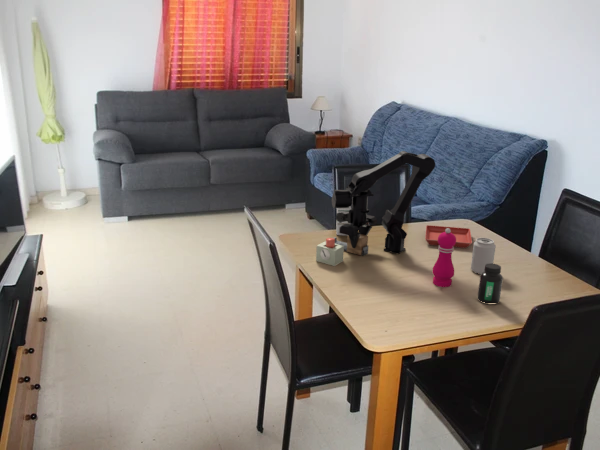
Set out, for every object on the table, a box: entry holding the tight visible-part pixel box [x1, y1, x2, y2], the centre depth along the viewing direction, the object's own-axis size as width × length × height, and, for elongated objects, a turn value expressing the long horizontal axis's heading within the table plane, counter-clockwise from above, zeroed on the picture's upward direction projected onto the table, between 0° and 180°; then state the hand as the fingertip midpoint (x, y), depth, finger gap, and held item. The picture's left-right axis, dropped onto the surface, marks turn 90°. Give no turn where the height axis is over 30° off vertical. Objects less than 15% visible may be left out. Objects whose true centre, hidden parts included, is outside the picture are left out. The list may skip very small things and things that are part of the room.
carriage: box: [346, 234, 369, 256], centre depth 227 cm, size 6×5×6 cm
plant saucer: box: [424, 225, 473, 249], centre depth 243 cm, size 18×18×3 cm
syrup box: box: [335, 205, 352, 236], centre depth 246 cm, size 6×6×14 cm
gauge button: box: [325, 237, 335, 248], centre depth 217 cm, size 3×3×4 cm
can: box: [470, 237, 496, 275], centre depth 212 cm, size 8×8×12 cm
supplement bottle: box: [477, 262, 504, 304], centre depth 189 cm, size 7×7×12 cm
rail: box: [333, 236, 369, 257], centre depth 230 cm, size 15×3×3 cm, turn 55°
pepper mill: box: [431, 228, 456, 288], centre depth 200 cm, size 7×7×20 cm
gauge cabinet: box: [315, 240, 345, 267], centre depth 218 cm, size 8×6×6 cm
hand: (357, 246), depth 228 cm, fingers closed on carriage, 5 cm apart
